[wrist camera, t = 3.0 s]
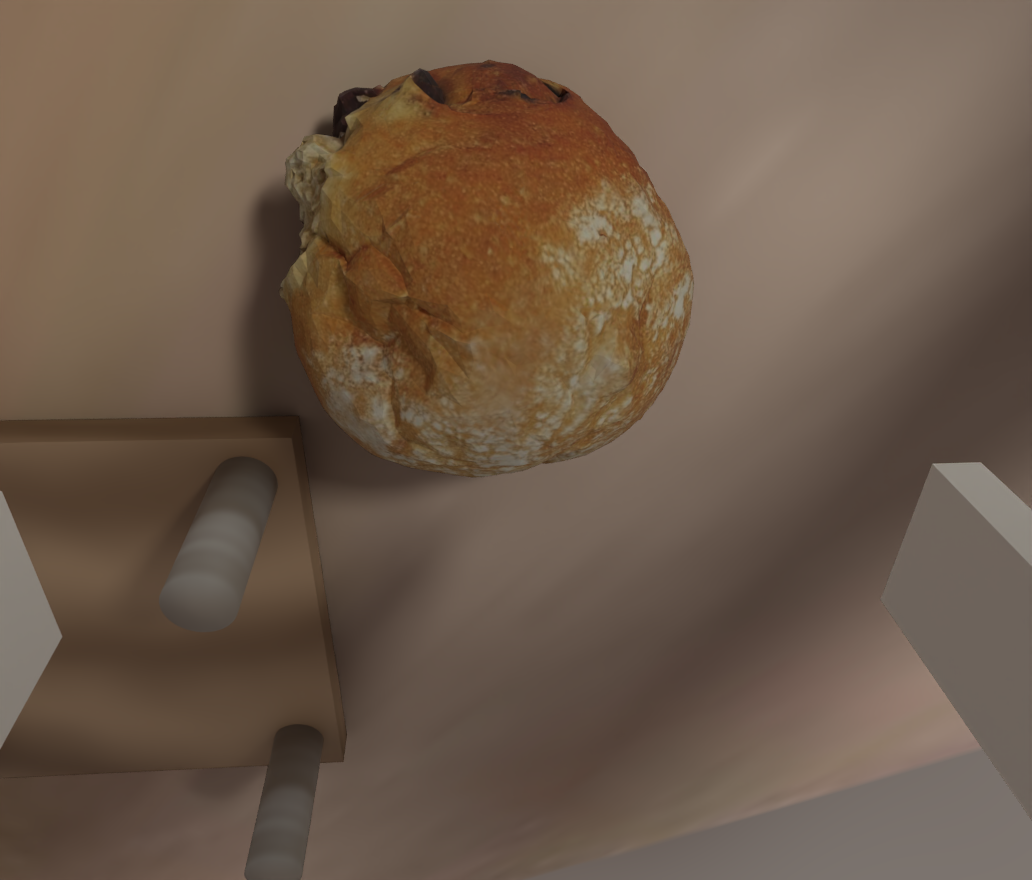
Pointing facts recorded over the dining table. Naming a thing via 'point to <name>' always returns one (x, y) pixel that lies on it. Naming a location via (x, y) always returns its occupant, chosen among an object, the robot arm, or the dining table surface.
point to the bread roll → (481, 272)
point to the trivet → (178, 609)
